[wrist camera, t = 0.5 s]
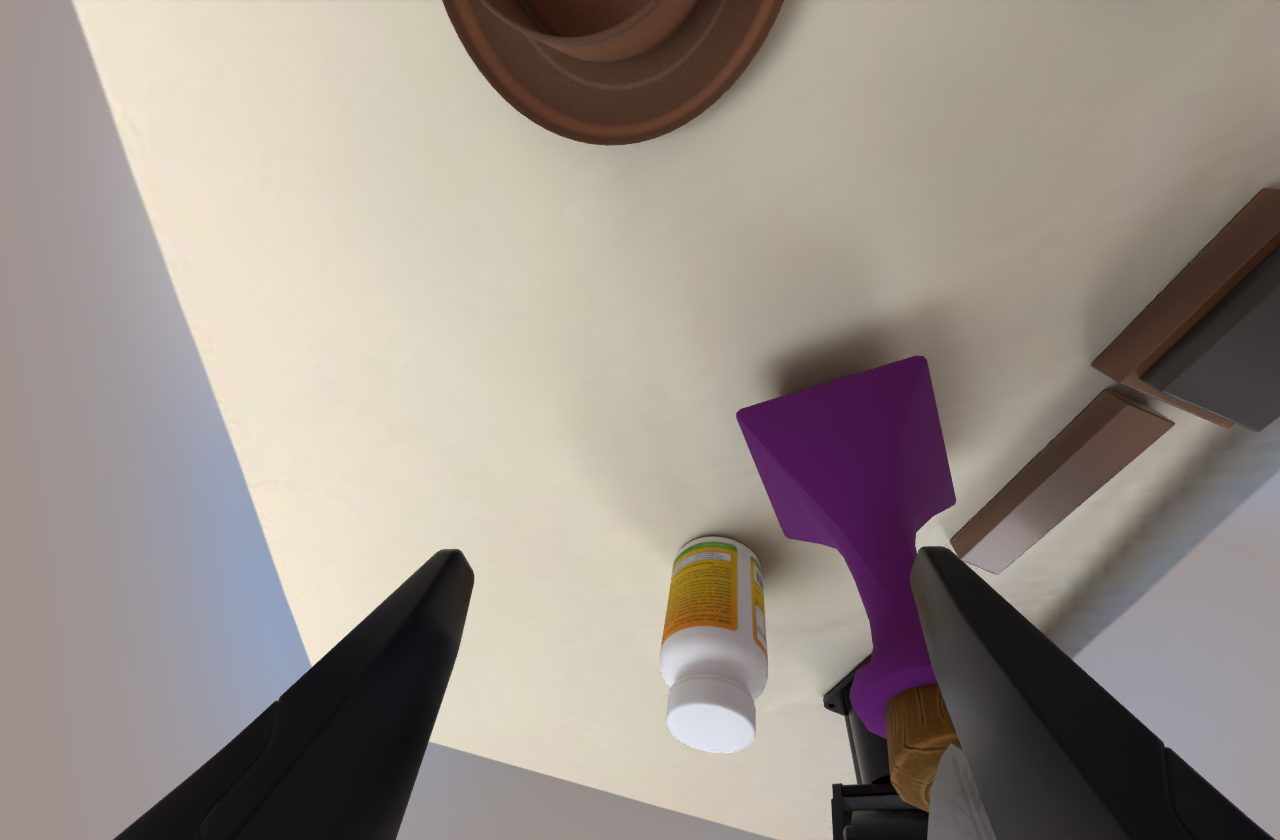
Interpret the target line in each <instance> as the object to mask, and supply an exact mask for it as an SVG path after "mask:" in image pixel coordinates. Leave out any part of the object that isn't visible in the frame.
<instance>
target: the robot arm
mask: <svg viewBox="0 0 1280 840" xmlns="http://www.w3.org/2000/svg"><path fill="white" fill-rule="evenodd" d="M910 580H911V586H912V590H913V594H914V598H915V602H916V606H917V610H918V614H919V618H920V622H921V626H922V630H923V634H924V638H925V642H926V646H927V649H928V653H929V657H930V661H931V664H932V668H933V671H934V674H935V677H936V680H937V683H938V685H939V688H940V691H941V693H942V696H943V699H944V701H945V704H946V707H947V709H948V712H949V715H950V717H951V720H952V722H953V725H954V728H955V730H956V733H957V736H958V738H959V741H960V744H961V746H962V749H963V752H964V754H965V757H966V760H967V762H968V765H969V768H970V770H971V773H972V776H973V778H974V781H975V784H976V786H977V789H978V792H979V794H980V797H981V800H982V802H983V805H984V808H985V810H986V813H987V816H988V818H989V821H990V824H991V826H992V829H993V832H994V834H995V837H996V840H1275V839H1274V838H1272V837H1271V836H1270V835H1269V834H1268V833H1266V832H1265V831H1264V830H1263V829H1262V828H1260V827H1259V826H1258V825H1257V824H1256V823H1254V822H1253V821H1252V820H1251V819H1250V818H1248V817H1247V816H1246V815H1245V814H1244V813H1243V812H1242V811H1241V810H1239V809H1238V808H1237V807H1236V806H1235V805H1234V804H1233V803H1231V802H1230V801H1229V800H1228V799H1227V798H1226V797H1224V796H1223V795H1222V794H1221V793H1220V792H1219V791H1218V790H1216V789H1215V788H1214V787H1213V786H1212V785H1211V784H1210V783H1209V782H1207V781H1206V780H1205V779H1204V778H1203V777H1202V776H1201V775H1199V774H1198V773H1197V772H1196V771H1195V770H1194V769H1193V768H1192V767H1191V766H1189V765H1188V764H1187V763H1186V762H1185V761H1184V760H1183V759H1181V758H1180V757H1179V756H1178V755H1177V754H1176V753H1175V752H1174V751H1173V750H1172V749H1170V748H1168V747H1165V746H1164V743H1163V742H1162V741H1161V740H1160V739H1159V738H1158V737H1157V736H1156V735H1154V733H1152V732H1151V731H1150V730H1149V729H1148V728H1147V727H1146V726H1145V725H1144V724H1143V723H1141V722H1140V721H1139V720H1138V719H1137V718H1136V717H1135V716H1134V715H1132V714H1131V713H1130V712H1129V711H1128V710H1127V709H1126V708H1125V707H1124V706H1123V705H1121V704H1120V703H1119V702H1118V701H1117V700H1116V699H1115V698H1114V697H1113V696H1111V695H1110V694H1109V693H1108V692H1107V691H1106V690H1105V689H1104V688H1103V687H1102V686H1100V685H1099V684H1098V683H1097V682H1096V681H1095V680H1094V679H1093V678H1091V677H1090V676H1089V675H1088V674H1087V673H1086V672H1085V671H1084V670H1082V668H1080V667H1079V666H1078V665H1077V664H1076V663H1075V662H1074V661H1073V660H1072V659H1070V658H1069V657H1068V656H1067V655H1066V654H1065V653H1064V652H1063V651H1062V650H1060V649H1059V648H1058V647H1057V646H1056V645H1055V644H1054V643H1053V642H1052V641H1050V640H1049V639H1048V638H1047V637H1046V636H1045V635H1044V634H1043V633H1042V632H1040V631H1039V630H1038V629H1037V628H1036V627H1035V626H1034V625H1033V624H1032V623H1031V622H1029V621H1028V620H1027V619H1026V618H1025V617H1024V616H1023V615H1022V614H1021V613H1019V612H1018V611H1017V610H1016V609H1015V608H1014V607H1013V606H1012V605H1011V604H1009V603H1008V602H1007V601H1006V600H1005V599H1004V598H1003V597H1002V596H1001V595H999V594H998V593H997V592H996V591H995V590H994V589H993V588H992V587H991V586H989V585H988V584H987V583H986V582H985V581H984V580H983V579H982V578H981V577H979V576H978V575H977V574H976V573H975V572H974V571H973V570H972V569H971V568H970V567H968V566H967V565H966V564H965V563H964V562H963V561H962V560H961V559H960V558H958V557H957V556H956V555H955V554H954V553H953V552H952V551H951V550H949V549H948V548H945V547H941V546H932V547H922V548H920V549H919V551H918V553H917V556H916V559H915V562H914V565H913V568H912V571H911V576H910ZM473 585H474V573H473V570H472V568H471V567H470V565H469V563H468V561H467V560H466V558H465V556H464V554H463V553H462V551H460V550H459V549H443V550H440V551H438V552H437V553H435V554H434V555H433V556H432V557H431V558H430V559H429V560H428V561H427V562H426V563H425V564H424V565H422V566H421V567H420V568H419V569H418V570H417V571H416V572H415V573H414V574H413V575H412V576H411V577H409V578H408V579H407V580H406V581H405V582H404V583H403V584H402V585H401V586H400V587H399V588H398V589H396V590H395V591H394V592H393V593H392V594H391V595H390V596H389V597H388V598H387V599H386V600H385V601H383V602H382V603H381V604H380V605H379V606H378V607H377V608H376V609H375V610H374V611H373V612H372V613H370V614H369V615H368V616H367V617H366V618H365V619H364V620H363V621H362V622H361V623H360V624H358V625H357V626H356V627H355V628H354V629H353V630H352V631H351V632H350V633H349V634H348V635H347V636H345V637H344V638H343V639H342V640H341V641H340V642H339V643H338V644H337V645H336V646H335V647H334V648H332V649H331V650H330V651H329V652H328V653H327V654H326V655H325V656H324V657H323V658H322V659H321V660H319V661H318V662H317V663H316V664H315V665H314V666H313V667H312V668H311V669H310V670H309V671H308V672H307V673H305V674H304V675H303V676H302V677H301V678H300V679H299V680H298V681H297V682H296V683H295V684H294V685H292V686H291V687H290V688H289V689H288V690H287V691H286V692H285V693H284V694H283V695H282V696H280V698H279V701H275V702H274V703H273V704H272V705H270V706H269V707H268V708H267V709H266V710H265V711H264V712H263V713H262V714H261V715H260V716H259V717H257V719H255V720H254V721H253V722H252V723H251V724H250V725H249V726H248V727H246V728H245V729H244V730H243V731H242V732H241V733H240V734H239V735H237V736H236V737H235V738H234V739H233V740H232V741H231V742H230V743H228V744H227V745H226V746H225V747H224V748H223V749H222V750H220V751H219V752H218V753H217V754H216V755H215V756H213V757H212V758H211V759H210V760H209V761H207V762H206V763H205V764H204V765H203V766H201V767H200V768H199V769H198V770H197V771H196V772H194V773H193V774H192V775H191V776H190V777H188V778H187V779H186V780H185V781H184V782H182V783H181V784H180V785H179V786H177V787H176V788H175V789H174V790H173V791H171V792H170V793H169V794H168V795H167V796H166V797H164V798H163V799H162V800H160V801H159V802H158V803H157V804H156V805H154V806H153V807H152V808H151V809H150V810H148V811H147V812H146V813H145V814H143V815H142V816H141V817H140V818H139V819H137V820H136V821H135V822H134V823H133V824H131V825H130V826H129V827H128V828H126V829H125V830H124V831H123V832H122V833H120V834H119V835H118V836H117V837H116V838H115V839H113V840H396V837H397V834H398V831H399V828H400V825H401V822H402V819H403V816H404V813H405V810H406V807H407V805H408V802H409V798H410V795H411V792H412V790H413V787H414V783H415V781H416V778H417V775H418V772H419V768H420V766H421V763H422V760H423V757H424V753H425V751H426V747H427V745H428V742H429V739H430V736H431V733H432V730H433V727H434V724H435V721H436V718H437V715H438V712H439V709H440V706H441V703H442V700H443V697H444V694H445V691H446V688H447V685H448V682H449V679H450V676H451V673H452V670H453V667H454V664H455V660H456V657H457V654H458V650H459V646H460V642H461V638H462V634H463V629H464V625H465V620H466V616H467V611H468V607H469V602H470V598H471V594H472V589H473ZM870 661H871V656H870V657H869V658H868V659H867V660H865V661H864V662H863V663H862V664H861V665H860V666H859V667H858V668H857V669H855V670H854V671H853V672H852V673H851V674H850V675H849V676H848V677H847V678H845V679H844V680H843V681H842V682H841V683H840V684H839V685H838V686H837V687H835V688H834V689H833V690H832V691H831V692H830V693H829V694H828V695H827V696H825V697H824V699H823V702H824V707H825V708H826V709H828V710H831V711H834V712H836V713H839V714H841V715H844V716H845V721H846V726H847V731H848V737H849V742H850V747H851V752H852V758H853V763H854V768H855V773H856V779H857V784H855V785H842V783H840V784H832V788H833V799H831V804H832V824H833V840H927V835H928V822H929V813H928V812H926V811H924V810H921V809H919V808H917V807H915V806H913V805H911V804H909V803H907V802H905V801H903V800H902V799H901V797H900V796H899V794H898V793H897V791H896V789H895V788H894V786H893V785H892V783H891V780H890V769H889V757H888V746H887V739H886V738H883V737H881V736H879V735H877V734H874V733H872V732H870V731H868V729H867V728H866V726H865V725H864V723H863V722H862V721H861V719H860V718H859V716H858V715H857V713H856V712H855V710H854V708H853V706H852V704H851V702H850V690H851V686H852V683H853V680H854V677H855V673H856V671H857V670H859V669H860V668H862V667H863V666H865V665H866V664H867V663H869V662H870Z"/></svg>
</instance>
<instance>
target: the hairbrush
mask: <svg viewBox="0 0 1280 840" xmlns="http://www.w3.org/2000/svg"><path fill="white" fill-rule="evenodd" d="M1091 366H1092V367H1094V368H1096V369H1097V370H1099V371H1100V372H1102V373H1104V374H1105V375H1107V376H1109V377H1110V378H1112V379H1113V380H1115V381H1117V382H1118V383H1120V384H1123V385H1125V386H1127V387H1130V388H1132V389H1135V390H1137V391H1139V392H1142V393H1144V394H1146V395H1149V396H1151V397H1154V398H1156V399H1158V400H1161V401H1163V402H1165V403H1168V404H1170V405H1173V406H1175V407H1177V408H1180V409H1182V410H1184V411H1187V412H1189V413H1192V414H1194V415H1196V416H1199V417H1201V418H1203V419H1206V420H1208V421H1211V422H1213V423H1215V424H1218V425H1220V426H1223V427H1225V428H1230V427H1231V426H1233V425H1234V424H1235V423H1236V424H1238V425H1241V426H1243V427H1245V428H1248V429H1250V430H1252V431H1255V432H1260V431H1261V430H1262V429H1264V428H1265V427H1266V426H1268V425H1269V424H1270V423H1272V422H1273V421H1274V420H1276V419H1277V418H1278V417H1279V416H1280V189H1268V188H1265V189H1263V190H1262V191H1261V192H1260V193H1259V194H1258V195H1257V196H1256V197H1255V198H1254V199H1253V200H1252V201H1251V202H1250V203H1249V204H1248V205H1247V206H1246V207H1245V208H1244V209H1243V210H1242V211H1241V212H1240V213H1239V214H1238V215H1237V216H1236V217H1235V218H1234V219H1233V220H1232V221H1231V222H1230V223H1229V224H1228V225H1227V226H1226V227H1225V228H1224V229H1223V230H1222V231H1221V232H1220V233H1219V234H1218V235H1217V237H1216V238H1215V239H1214V240H1213V241H1212V242H1211V243H1210V244H1209V245H1208V246H1207V247H1206V248H1205V249H1204V250H1203V251H1202V252H1201V253H1200V254H1199V255H1198V256H1197V257H1196V258H1195V259H1194V260H1193V261H1192V262H1191V263H1190V264H1189V265H1188V266H1187V267H1186V268H1185V269H1184V270H1183V271H1182V272H1181V273H1180V274H1179V275H1178V276H1177V277H1176V278H1175V279H1174V280H1173V281H1172V283H1171V284H1170V285H1169V286H1168V287H1167V288H1166V289H1165V290H1164V291H1163V292H1162V293H1161V294H1160V295H1159V296H1158V297H1157V298H1156V299H1155V300H1154V301H1153V302H1152V303H1151V304H1150V305H1149V306H1148V307H1147V308H1146V309H1145V310H1144V311H1143V312H1142V313H1141V314H1140V315H1139V316H1138V317H1137V318H1136V319H1135V320H1134V321H1133V322H1132V323H1131V324H1130V325H1129V326H1128V327H1127V329H1126V330H1125V331H1124V332H1123V333H1122V334H1121V335H1120V336H1119V337H1118V338H1117V339H1116V340H1115V341H1114V342H1113V343H1112V344H1111V345H1110V346H1109V347H1108V348H1107V349H1106V350H1105V351H1104V352H1103V353H1102V354H1101V355H1100V356H1099V357H1098V358H1097V359H1096V360H1095V361H1094V362H1093V363H1092V364H1091ZM1174 425H1175V423H1174V422H1173V421H1171V420H1170V419H1168V418H1166V417H1165V416H1163V415H1162V414H1160V413H1158V412H1157V411H1155V410H1154V409H1152V408H1150V407H1148V406H1145V405H1143V404H1141V403H1138V402H1136V401H1134V400H1131V399H1129V398H1126V397H1124V396H1122V395H1119V394H1117V393H1115V392H1112V391H1110V390H1104V391H1103V392H1102V393H1101V394H1100V395H1099V396H1098V397H1097V398H1096V399H1095V400H1094V401H1093V402H1092V403H1091V404H1090V405H1089V406H1088V407H1087V408H1086V409H1085V410H1084V411H1083V412H1082V413H1081V414H1080V415H1079V416H1078V417H1077V418H1076V419H1075V420H1074V421H1073V422H1072V423H1071V424H1069V425H1068V426H1067V427H1066V428H1065V429H1064V430H1063V431H1062V432H1061V433H1060V434H1059V435H1058V436H1057V437H1056V438H1055V439H1054V440H1053V441H1052V442H1051V443H1050V444H1049V445H1048V446H1047V447H1046V448H1045V449H1044V450H1043V451H1042V452H1041V453H1040V454H1039V455H1038V456H1037V457H1035V458H1034V459H1033V460H1032V461H1031V462H1030V463H1029V464H1028V465H1027V466H1026V467H1025V468H1024V469H1023V470H1022V471H1021V472H1020V473H1019V474H1018V475H1017V476H1016V477H1015V478H1014V479H1013V480H1012V481H1011V482H1010V483H1009V484H1008V485H1007V486H1006V487H1005V488H1004V489H1003V490H1001V491H1000V492H999V493H998V494H997V495H996V496H995V497H994V498H993V499H992V500H991V501H990V502H989V503H988V504H987V505H986V506H985V507H984V508H983V509H982V510H981V511H980V512H979V513H978V514H977V515H976V516H975V517H974V518H973V519H972V520H971V521H970V522H969V523H968V524H966V525H965V526H964V527H963V528H962V529H961V530H960V531H959V532H958V533H957V534H956V535H955V536H954V537H953V538H952V539H951V540H950V543H951V544H952V546H953V548H954V550H955V552H956V554H957V556H958V557H959V558H960V559H961V560H962V561H964V562H967V563H969V564H972V565H974V566H977V567H979V568H982V569H984V570H987V571H989V572H992V573H994V574H996V575H998V574H999V573H1001V572H1002V571H1003V570H1004V569H1005V568H1007V567H1008V566H1009V565H1010V564H1011V563H1012V562H1014V561H1015V560H1016V559H1017V558H1018V557H1020V556H1021V555H1022V554H1023V553H1024V552H1025V551H1027V550H1028V549H1029V548H1030V547H1031V546H1032V545H1034V544H1035V543H1036V542H1037V541H1038V540H1040V539H1041V538H1042V537H1043V536H1044V535H1045V534H1047V533H1048V532H1049V531H1050V530H1051V529H1052V528H1054V527H1055V526H1056V525H1057V524H1058V523H1060V522H1061V521H1062V520H1063V519H1064V518H1065V517H1067V516H1068V515H1069V514H1070V513H1071V512H1073V511H1074V510H1075V509H1076V508H1077V507H1078V506H1080V505H1081V504H1082V503H1083V502H1084V501H1085V500H1087V499H1088V498H1089V497H1090V496H1091V495H1093V494H1094V493H1095V492H1096V491H1097V490H1098V489H1100V488H1101V487H1102V486H1103V485H1104V484H1105V483H1107V482H1108V481H1109V480H1110V479H1111V478H1113V477H1114V476H1115V475H1116V474H1117V473H1118V472H1120V471H1121V470H1122V469H1123V468H1124V467H1126V466H1127V465H1128V464H1129V463H1130V462H1131V461H1133V460H1134V459H1135V458H1136V457H1137V456H1138V455H1140V454H1141V453H1142V452H1143V451H1144V450H1146V449H1147V448H1148V447H1149V446H1150V445H1151V444H1153V443H1154V442H1155V441H1156V440H1157V439H1158V438H1160V437H1161V436H1162V435H1163V434H1164V433H1166V432H1167V431H1168V430H1169V429H1170V428H1171V427H1173V426H1174Z"/></svg>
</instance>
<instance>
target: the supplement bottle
mask: <svg viewBox="0 0 1280 840" xmlns="http://www.w3.org/2000/svg"><path fill="white" fill-rule="evenodd" d="M660 669H661V673H662V676H663V678H664V680H665V682H666V683H667V685H668V686H669V687H670V693H669V696H668V705H667V715H666V723H667V727H668V729H669V731H670V732H671V733H672V735H673V736H674V737H675V738H677V739H678V740H679V741H681V742H682V743H684V744H686V745H688V746H690V747H693V748H695V749H698V750H702V751H706V752H712V753H731V752H736V751H740V750H743V749H745V748H746V747H748V746H749V745H750V744H751V743H752V742H753V740H754V738H755V732H756V729H755V715H756V709H755V705H754V700H755V699H757V698H758V697H759V696H760V694H761V693H762V691H763V690H764V688H765V686H766V683H767V678H768V657H767V642H766V627H765V610H764V594H763V578H762V569H761V565H760V562H759V560H758V558H757V557H756V555H755V554H754V553H753V552H752V551H751V550H750V549H749V548H748V547H746V546H745V545H743V544H741V543H739V542H737V541H735V540H732V539H728V538H723V537H703V538H699V539H696V540H693V541H691V542H689V543H688V544H686V545H685V546H684V547H682V548H681V550H680V551H679V552H678V554H677V556H676V558H675V561H674V565H673V571H672V577H671V585H670V592H669V598H668V605H667V612H666V619H665V626H664V632H663V639H662V645H661V653H660Z"/></svg>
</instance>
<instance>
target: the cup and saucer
mask: <svg viewBox="0 0 1280 840" xmlns="http://www.w3.org/2000/svg"><path fill="white" fill-rule="evenodd" d="M442 1H443V3H444V6H445V8H446V11H447V14H448V16H449V18H450V20H451V22H452V24H453V27H454V29H455V31H456V33H457V35H458V37H459V39H460V40H461V42H462V44H463V46H464V47H465V49H466V51H467V53H468V54H469V56H470V57H471V59H472V60H473V62H474V63H475V65H476V66H477V68H478V69H479V71H480V72H481V73H482V74H483V76H484V77H485V78H486V79H487V81H488V82H489V83H490V84H491V86H492V87H493V88H494V89H495V90H496V91H497V92H498V93H499V94H500V95H501V96H502V97H503V98H504V99H505V100H506V101H507V102H508V103H509V104H510V105H512V106H513V107H514V108H515V109H516V110H517V111H519V112H520V113H521V114H523V115H524V116H526V117H527V118H528V119H530V120H531V121H533V122H534V123H536V124H538V125H539V126H541V127H543V128H545V129H546V130H549V131H551V132H553V133H555V134H558V135H560V136H562V137H566V138H569V139H572V140H575V141H579V142H584V143H589V144H597V145H625V144H632V143H639V142H642V141H646V140H650V139H654V138H656V137H659V136H661V135H664V134H667V133H669V132H671V131H673V130H675V129H677V128H679V127H681V126H683V125H685V124H686V123H688V122H689V121H691V120H692V119H694V118H695V117H697V116H698V115H700V114H701V113H702V112H704V111H705V110H706V109H707V108H709V107H710V106H711V105H712V104H714V103H715V102H716V101H717V100H718V99H719V98H720V97H721V96H722V95H723V94H724V93H725V92H726V91H727V90H728V89H729V88H730V87H731V86H732V85H733V84H734V82H735V81H736V80H737V79H738V78H739V77H740V75H741V74H742V73H743V72H744V70H745V69H746V68H747V66H748V65H749V63H750V62H751V61H752V59H753V58H754V56H755V55H756V53H757V52H758V50H759V48H760V47H761V45H762V44H763V42H764V40H765V39H766V37H767V35H768V33H769V31H770V29H771V27H772V25H773V23H774V21H775V19H776V18H777V16H778V14H779V11H780V9H781V6H782V4H783V2H784V0H442Z"/></svg>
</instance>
